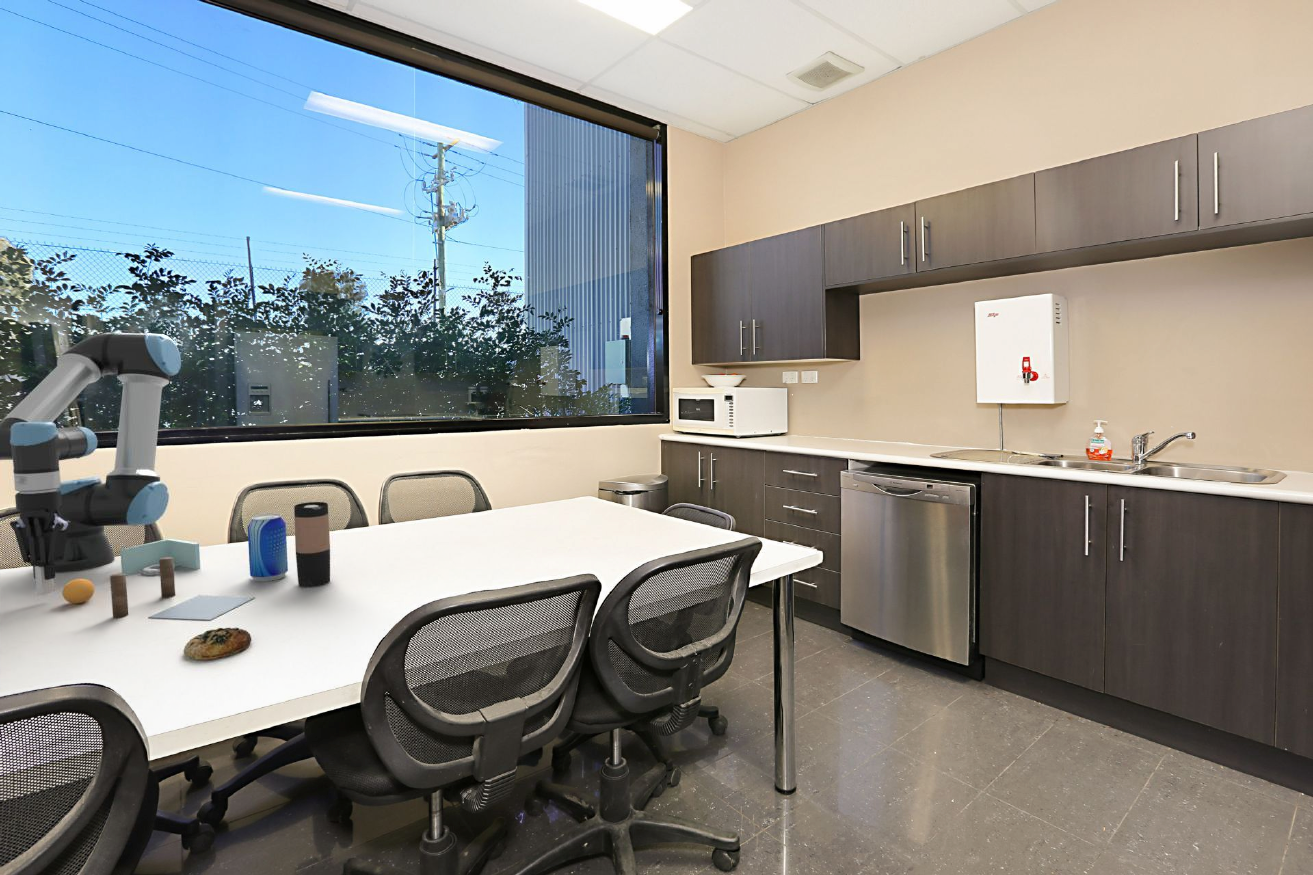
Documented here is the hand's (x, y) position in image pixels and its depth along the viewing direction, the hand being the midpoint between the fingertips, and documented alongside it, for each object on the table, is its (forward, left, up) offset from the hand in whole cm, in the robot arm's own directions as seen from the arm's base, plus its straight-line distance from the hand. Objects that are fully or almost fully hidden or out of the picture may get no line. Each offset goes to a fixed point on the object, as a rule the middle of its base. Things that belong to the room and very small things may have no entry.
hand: (45, 592), depth 148 cm
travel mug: (+52, +19, -2) cm, 55 cm away
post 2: (+24, +7, -2) cm, 25 cm away
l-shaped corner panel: (+7, +24, -3) cm, 25 cm away
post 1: (+24, -6, -2) cm, 24 cm away
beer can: (+38, +22, -2) cm, 44 cm away
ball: (+8, 0, +1) cm, 8 cm away
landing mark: (+38, 0, -2) cm, 38 cm away
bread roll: (+57, -20, -3) cm, 60 cm away
